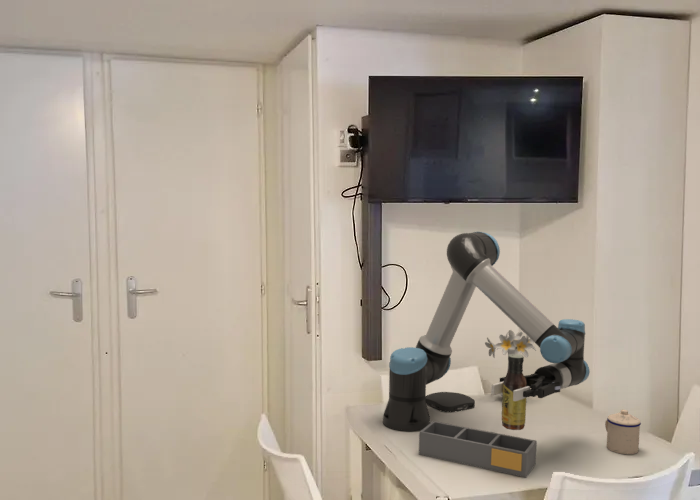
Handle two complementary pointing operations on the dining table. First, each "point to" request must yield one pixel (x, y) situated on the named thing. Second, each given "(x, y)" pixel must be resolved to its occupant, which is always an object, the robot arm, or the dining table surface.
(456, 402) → the media streaming box
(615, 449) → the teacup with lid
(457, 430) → the caddy
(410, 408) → the robot arm
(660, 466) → the dining table surface
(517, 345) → the flower vase
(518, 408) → the sauce bottle
